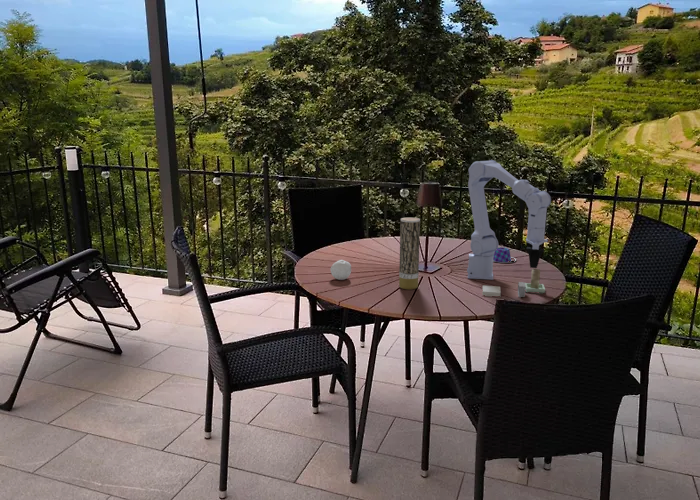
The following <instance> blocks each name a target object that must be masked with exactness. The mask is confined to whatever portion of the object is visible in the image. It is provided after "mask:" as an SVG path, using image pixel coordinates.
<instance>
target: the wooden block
mask: <svg viewBox="0 0 700 500" xmlns="http://www.w3.org/2000/svg"><path fill="white" fill-rule="evenodd" d="M525 283H526V282H525V281H524V282H523V281H518V284H517V285H518V286H517V296H518V298H521V297H526V291H525V287H526V286H525Z"/></svg>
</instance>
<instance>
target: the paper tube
mask: <svg viewBox="0 0 700 500" xmlns="http://www.w3.org/2000/svg"><path fill="white" fill-rule="evenodd" d="M399 231H400V232H399V271H398V273H399V274H398V275H399V277H398V279H399V280H398V281H399V282H398V283H399V284H398V286H399V288H400V289H403V290H410V291H411V290H415V289H417V288H418V287H419V265H420V237H421V234H420V232H421V218H418V217H401V218H400V228H399Z"/></svg>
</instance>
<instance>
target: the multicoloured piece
mask: <svg viewBox="0 0 700 500" xmlns="http://www.w3.org/2000/svg"><path fill="white" fill-rule="evenodd" d="M511 258H514V259H515V261H514V262H516V261H517V259H516V258H515V257H513V256H511V252H510V248H507V247H502V246H501V247H500V246H499V247H498V248H497V250H496V251H495V254H494V256H493V263H494V262H495V263H499V264H500V263H503V264H509V263H511V261H512V260H511ZM508 261H510V262H508Z"/></svg>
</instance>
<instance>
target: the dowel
mask: <svg viewBox="0 0 700 500" xmlns="http://www.w3.org/2000/svg"><path fill="white" fill-rule="evenodd" d="M540 278H541V269H538V268H531V278H530V283H531V288H537V289H539V284H540Z"/></svg>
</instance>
